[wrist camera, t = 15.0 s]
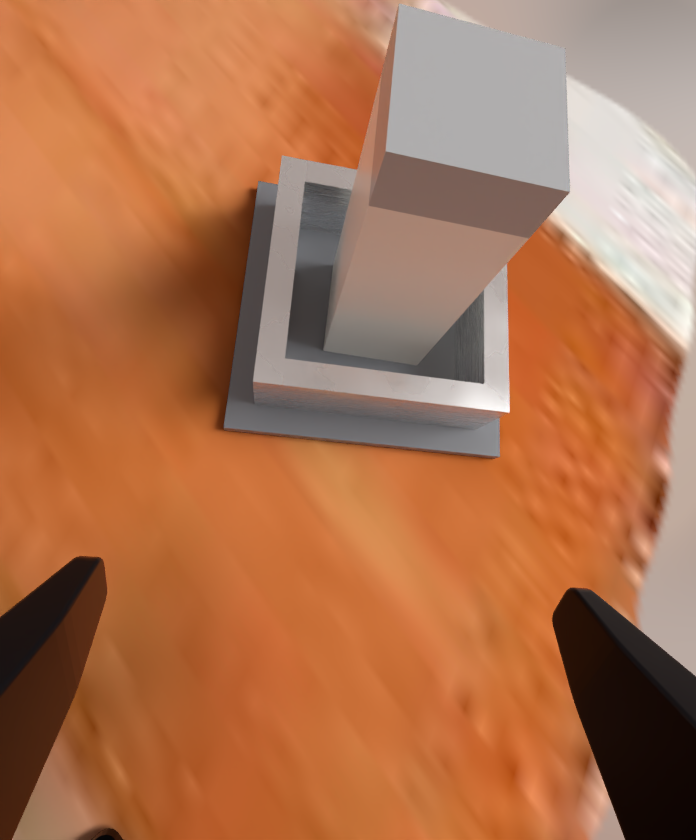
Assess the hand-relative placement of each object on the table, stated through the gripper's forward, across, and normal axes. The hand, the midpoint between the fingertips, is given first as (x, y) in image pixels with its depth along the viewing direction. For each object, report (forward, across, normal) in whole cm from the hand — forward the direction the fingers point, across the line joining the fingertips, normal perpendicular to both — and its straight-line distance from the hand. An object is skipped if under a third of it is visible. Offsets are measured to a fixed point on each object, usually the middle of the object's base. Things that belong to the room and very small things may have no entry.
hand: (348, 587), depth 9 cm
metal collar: (+19, -3, +1) cm, 19 cm away
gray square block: (+18, -3, 0) cm, 18 cm away
